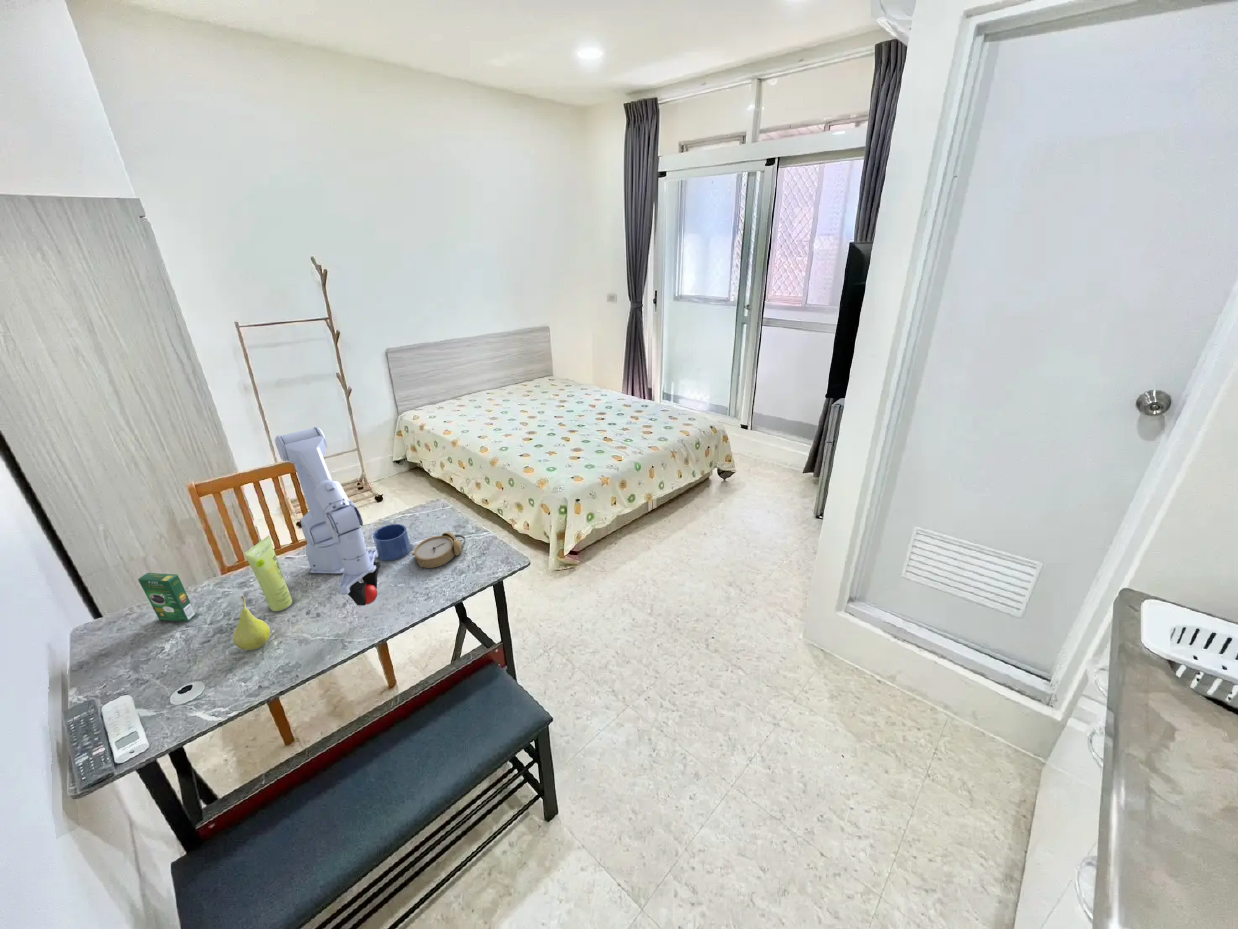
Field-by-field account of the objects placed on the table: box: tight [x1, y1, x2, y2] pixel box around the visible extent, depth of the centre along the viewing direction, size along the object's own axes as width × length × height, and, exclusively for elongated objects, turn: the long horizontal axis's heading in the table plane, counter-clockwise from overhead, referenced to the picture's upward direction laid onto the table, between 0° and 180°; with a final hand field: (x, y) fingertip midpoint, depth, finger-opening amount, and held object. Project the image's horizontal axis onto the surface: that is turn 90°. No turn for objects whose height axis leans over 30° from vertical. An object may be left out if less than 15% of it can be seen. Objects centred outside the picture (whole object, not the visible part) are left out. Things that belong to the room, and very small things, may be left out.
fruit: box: [232, 595, 271, 651], centre depth 111 cm, size 7×8×12 cm
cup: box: [372, 523, 411, 562], centre depth 145 cm, size 9×9×7 cm
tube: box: [244, 534, 293, 612], centre depth 121 cm, size 6×5×20 cm
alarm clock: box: [411, 531, 467, 569], centre depth 144 cm, size 11×5×15 cm
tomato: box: [361, 581, 378, 606], centre depth 120 cm, size 5×5×6 cm
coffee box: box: [137, 572, 197, 623], centre depth 119 cm, size 8×3×13 cm, turn 86°
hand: (367, 597), depth 121 cm, fingers closed on tomato, 5 cm apart
